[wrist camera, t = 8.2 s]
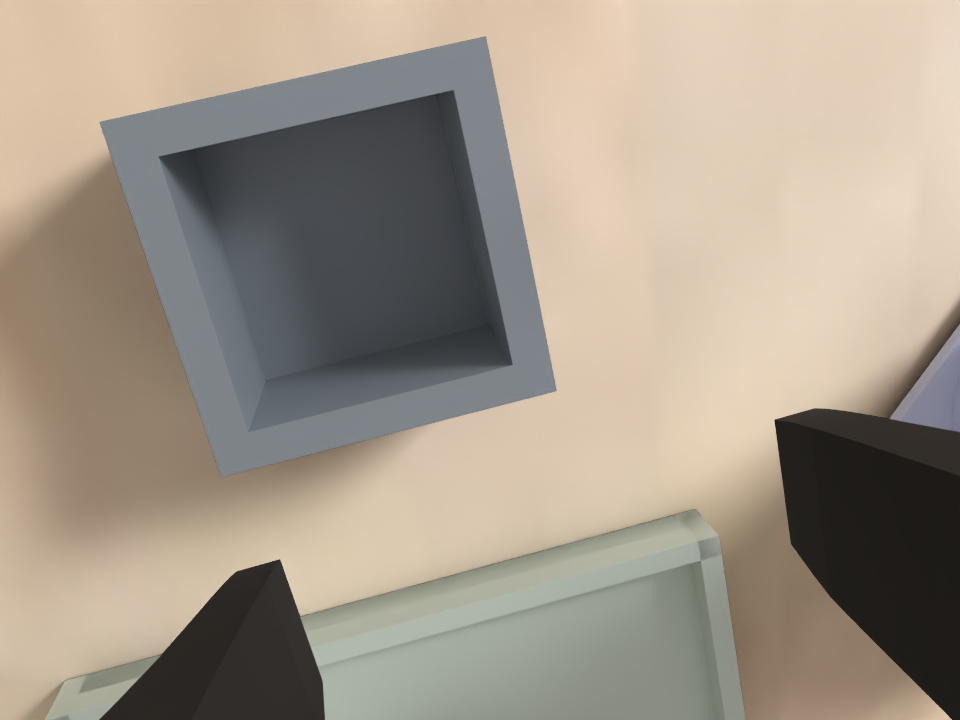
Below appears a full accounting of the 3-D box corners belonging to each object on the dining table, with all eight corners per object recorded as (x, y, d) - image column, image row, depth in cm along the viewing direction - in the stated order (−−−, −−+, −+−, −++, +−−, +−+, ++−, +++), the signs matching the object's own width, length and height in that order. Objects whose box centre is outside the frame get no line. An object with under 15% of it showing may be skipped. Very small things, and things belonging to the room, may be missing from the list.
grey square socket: (458, 54, 19) (485, 36, 15) (519, 341, 22) (556, 391, 18) (153, 122, 19) (99, 121, 15) (246, 409, 21) (221, 477, 17)
